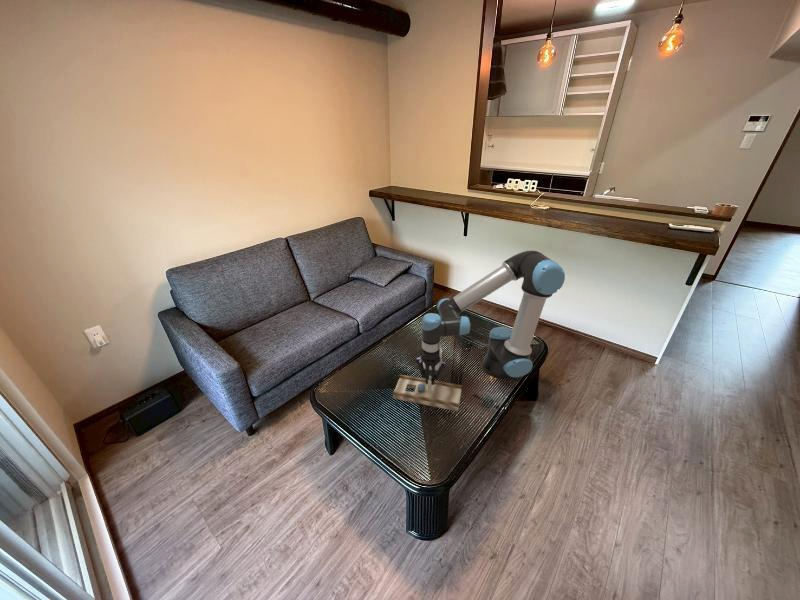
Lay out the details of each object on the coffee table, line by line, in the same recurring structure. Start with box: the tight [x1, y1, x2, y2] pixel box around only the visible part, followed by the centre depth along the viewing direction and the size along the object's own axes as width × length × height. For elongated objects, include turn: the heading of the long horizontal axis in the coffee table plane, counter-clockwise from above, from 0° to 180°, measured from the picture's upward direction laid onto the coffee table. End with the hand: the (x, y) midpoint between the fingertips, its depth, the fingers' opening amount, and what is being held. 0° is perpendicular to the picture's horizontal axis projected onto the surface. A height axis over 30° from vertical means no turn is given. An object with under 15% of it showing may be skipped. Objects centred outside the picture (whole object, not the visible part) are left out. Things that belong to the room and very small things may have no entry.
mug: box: [422, 347, 443, 372], centre depth 156 cm, size 12×8×10 cm
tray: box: [392, 374, 463, 412], centre depth 141 cm, size 30×12×4 cm, turn 74°
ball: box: [417, 384, 425, 391], centre depth 140 cm, size 4×4×4 cm
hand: (430, 388), depth 139 cm, fingers closed
